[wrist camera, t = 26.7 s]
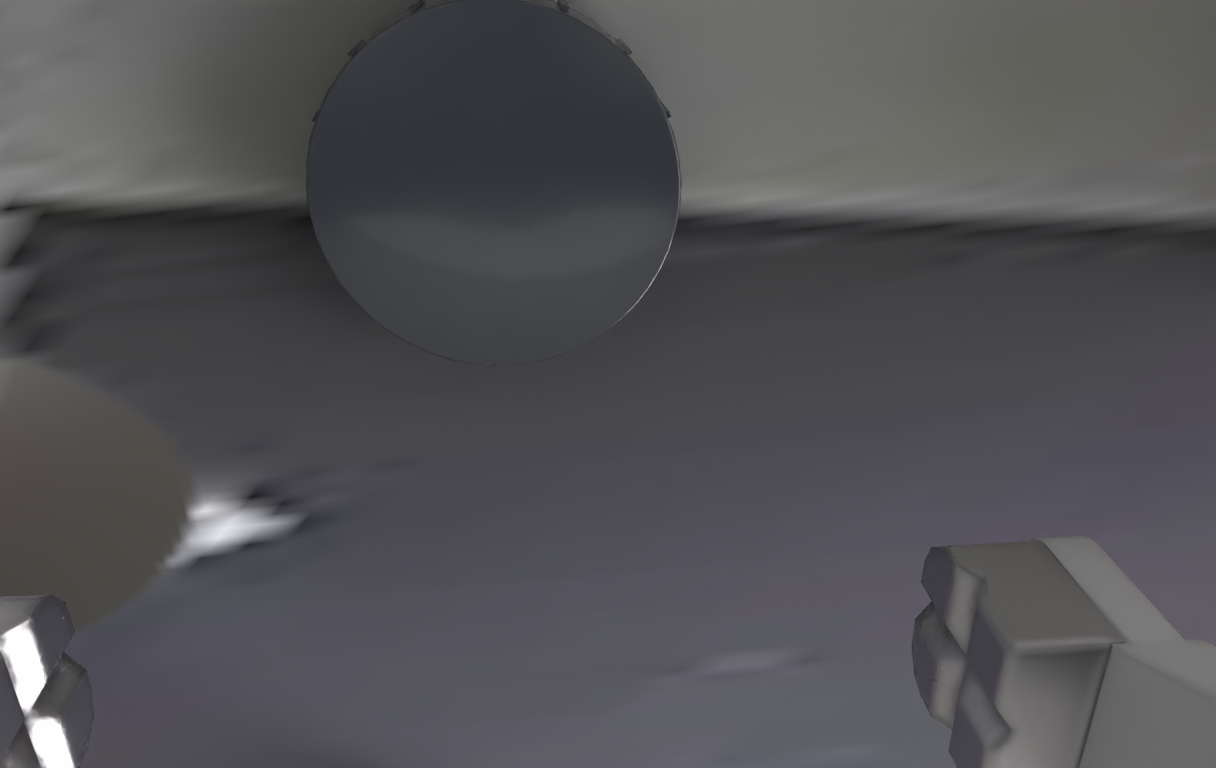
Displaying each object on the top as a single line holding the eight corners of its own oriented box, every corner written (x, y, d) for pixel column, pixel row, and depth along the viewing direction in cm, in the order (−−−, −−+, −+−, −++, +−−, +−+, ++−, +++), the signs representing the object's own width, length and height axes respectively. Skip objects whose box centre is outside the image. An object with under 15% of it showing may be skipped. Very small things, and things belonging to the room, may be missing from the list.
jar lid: (701, 26, 17) (723, 39, 16) (628, 348, 20) (639, 391, 18) (340, -50, 16) (320, -44, 15) (309, 299, 19) (289, 339, 17)
